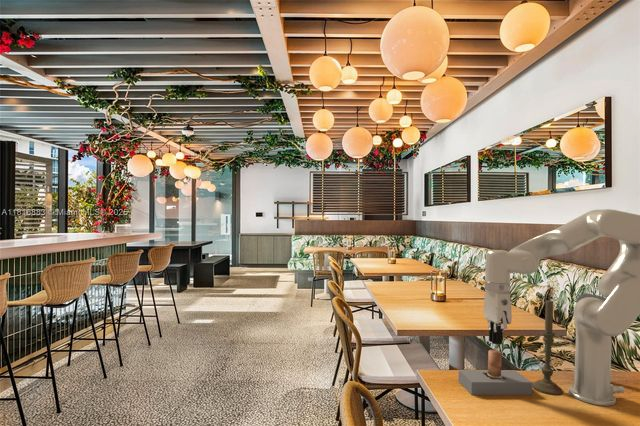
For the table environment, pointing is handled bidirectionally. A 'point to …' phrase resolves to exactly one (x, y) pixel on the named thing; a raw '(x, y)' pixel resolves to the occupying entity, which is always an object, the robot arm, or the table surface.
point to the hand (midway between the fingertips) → (495, 342)
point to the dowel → (494, 364)
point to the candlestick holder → (548, 356)
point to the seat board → (495, 383)
